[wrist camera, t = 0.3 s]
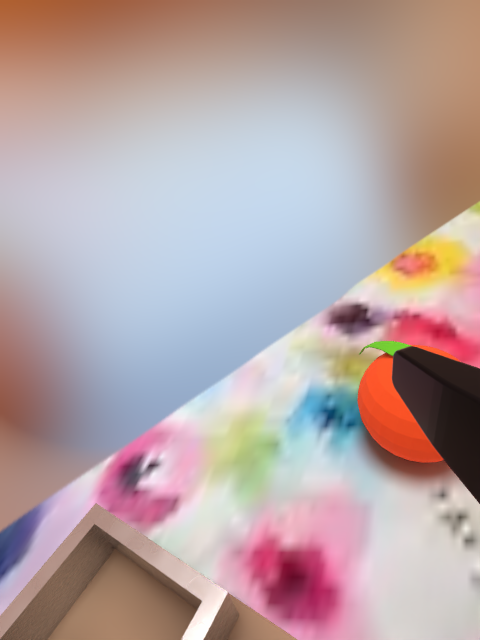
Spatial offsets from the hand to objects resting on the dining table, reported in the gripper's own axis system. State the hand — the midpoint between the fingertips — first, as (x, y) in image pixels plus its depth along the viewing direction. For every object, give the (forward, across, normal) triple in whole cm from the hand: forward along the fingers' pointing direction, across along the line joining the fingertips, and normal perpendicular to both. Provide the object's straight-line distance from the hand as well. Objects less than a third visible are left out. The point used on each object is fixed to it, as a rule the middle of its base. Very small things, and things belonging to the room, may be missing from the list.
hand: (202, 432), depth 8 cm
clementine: (+9, -12, +16) cm, 22 cm away
